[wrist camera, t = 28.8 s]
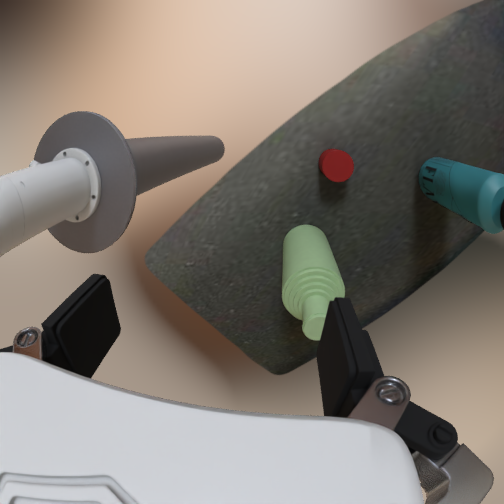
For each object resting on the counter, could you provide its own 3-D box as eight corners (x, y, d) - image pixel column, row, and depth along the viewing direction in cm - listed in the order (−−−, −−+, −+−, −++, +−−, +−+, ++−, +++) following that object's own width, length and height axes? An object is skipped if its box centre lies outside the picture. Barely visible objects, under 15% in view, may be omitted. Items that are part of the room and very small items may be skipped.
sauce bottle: (275, 255, 40) (267, 341, 23) (295, 216, 38) (304, 285, 21) (314, 273, 41) (329, 363, 24) (335, 236, 38) (370, 313, 21)
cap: (351, 155, 33) (358, 158, 30) (341, 182, 35) (347, 187, 32) (324, 144, 33) (328, 145, 30) (314, 171, 35) (317, 175, 31)
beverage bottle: (411, 155, 32) (507, 181, 14) (447, 154, 31) (545, 182, 13) (413, 200, 34) (499, 257, 16) (448, 197, 33) (538, 248, 15)
